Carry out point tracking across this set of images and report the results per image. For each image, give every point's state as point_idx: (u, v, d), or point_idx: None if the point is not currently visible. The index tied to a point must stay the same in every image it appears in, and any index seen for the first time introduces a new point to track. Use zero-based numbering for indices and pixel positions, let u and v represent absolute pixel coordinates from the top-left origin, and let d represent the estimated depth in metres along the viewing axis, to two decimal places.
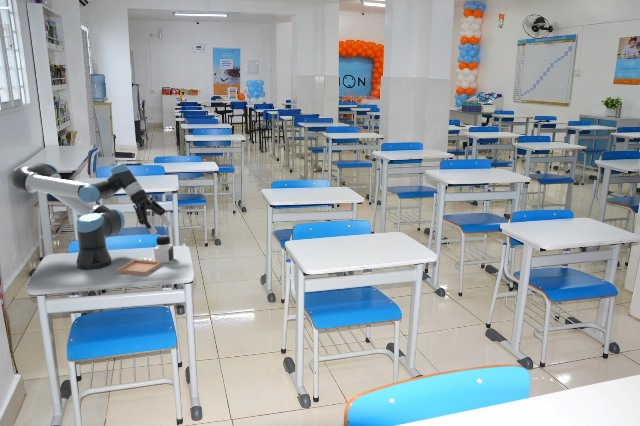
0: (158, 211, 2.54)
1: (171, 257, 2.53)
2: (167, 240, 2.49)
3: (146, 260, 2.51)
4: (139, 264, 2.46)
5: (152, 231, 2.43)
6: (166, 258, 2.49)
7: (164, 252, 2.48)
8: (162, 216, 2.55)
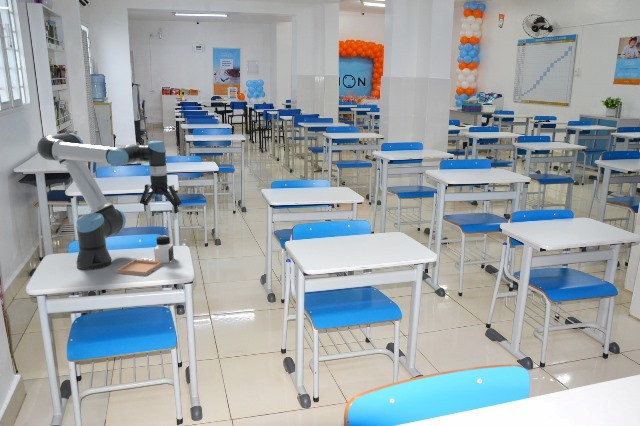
0: None
1: (171, 257, 2.53)
2: (167, 240, 2.49)
3: (146, 260, 2.51)
4: (139, 264, 2.46)
5: None
6: (166, 258, 2.49)
7: (164, 252, 2.48)
8: None
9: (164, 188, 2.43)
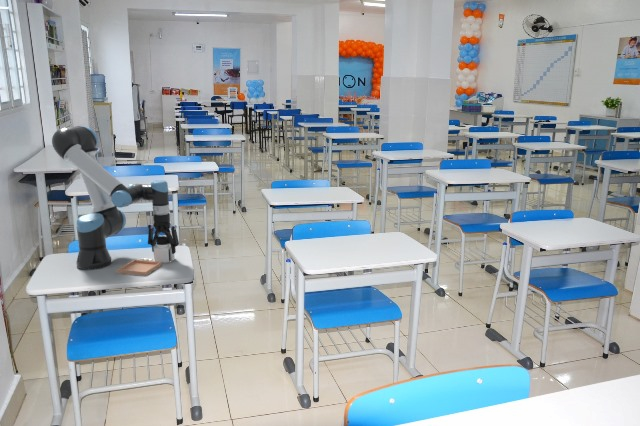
0: None
1: None
2: (167, 240, 2.49)
3: (146, 260, 2.51)
4: (139, 264, 2.46)
5: None
6: (166, 258, 2.49)
7: (164, 252, 2.48)
8: None
9: (166, 226, 2.47)
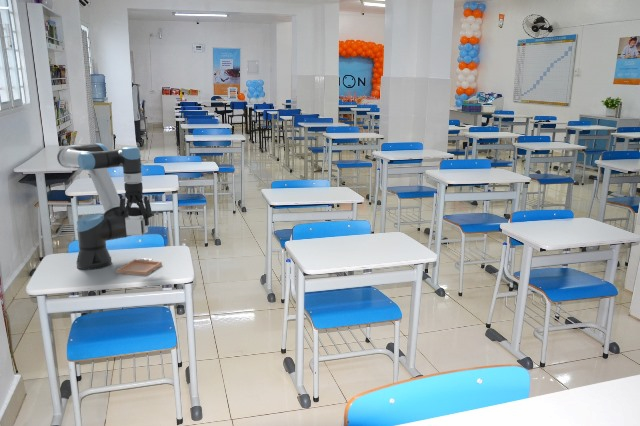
0: None
1: None
2: (139, 211, 2.33)
3: (146, 260, 2.51)
4: (139, 264, 2.46)
5: None
6: (139, 230, 2.33)
7: (136, 224, 2.32)
8: None
9: (139, 196, 2.31)
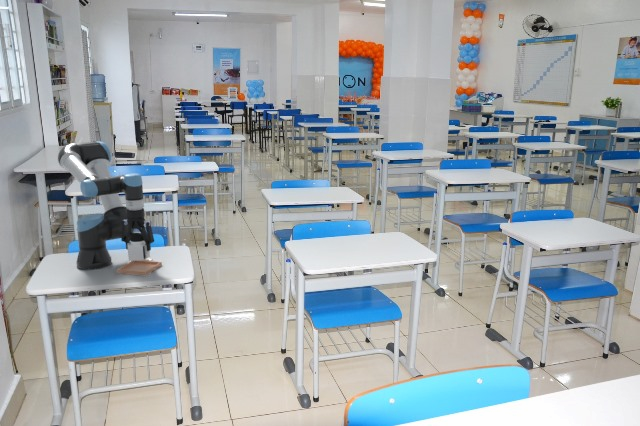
0: None
1: None
2: (141, 237, 2.36)
3: (146, 260, 2.51)
4: (139, 264, 2.46)
5: None
6: (141, 256, 2.36)
7: (139, 249, 2.35)
8: None
9: (141, 222, 2.34)
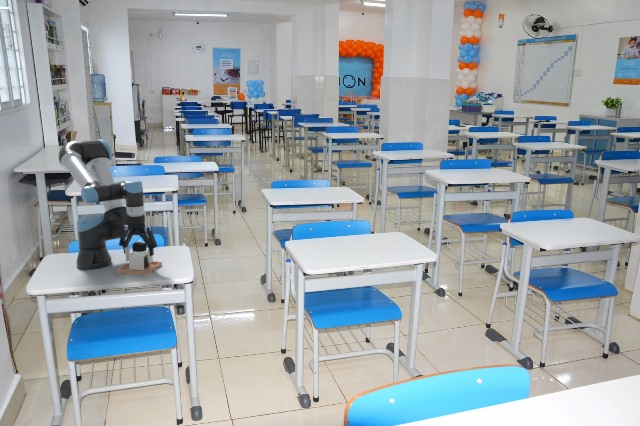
0: None
1: (147, 265, 2.41)
2: (143, 247, 2.37)
3: None
4: None
5: None
6: (141, 266, 2.37)
7: (139, 259, 2.36)
8: None
9: (141, 229, 2.35)
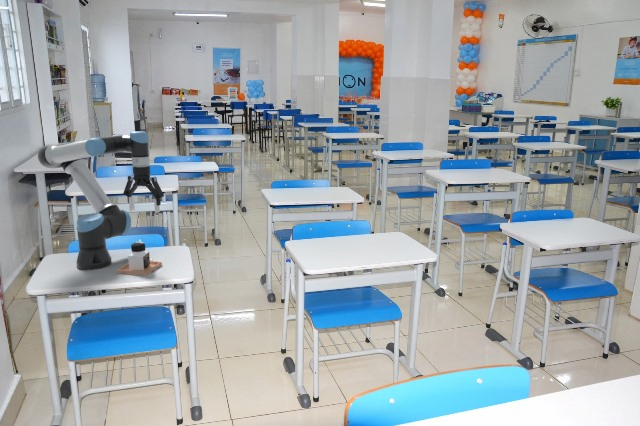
0: None
1: (147, 265, 2.41)
2: (142, 247, 2.37)
3: None
4: None
5: None
6: (141, 266, 2.37)
7: (139, 259, 2.37)
8: None
9: (146, 180, 2.38)
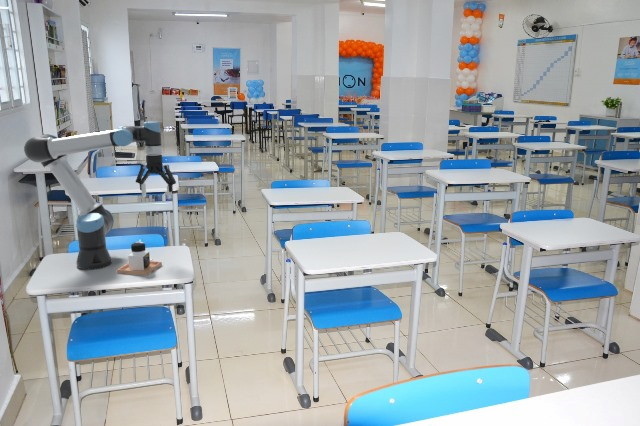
0: None
1: (147, 265, 2.41)
2: (142, 247, 2.37)
3: None
4: None
5: None
6: (141, 266, 2.37)
7: (139, 259, 2.37)
8: None
9: (159, 167, 2.51)
